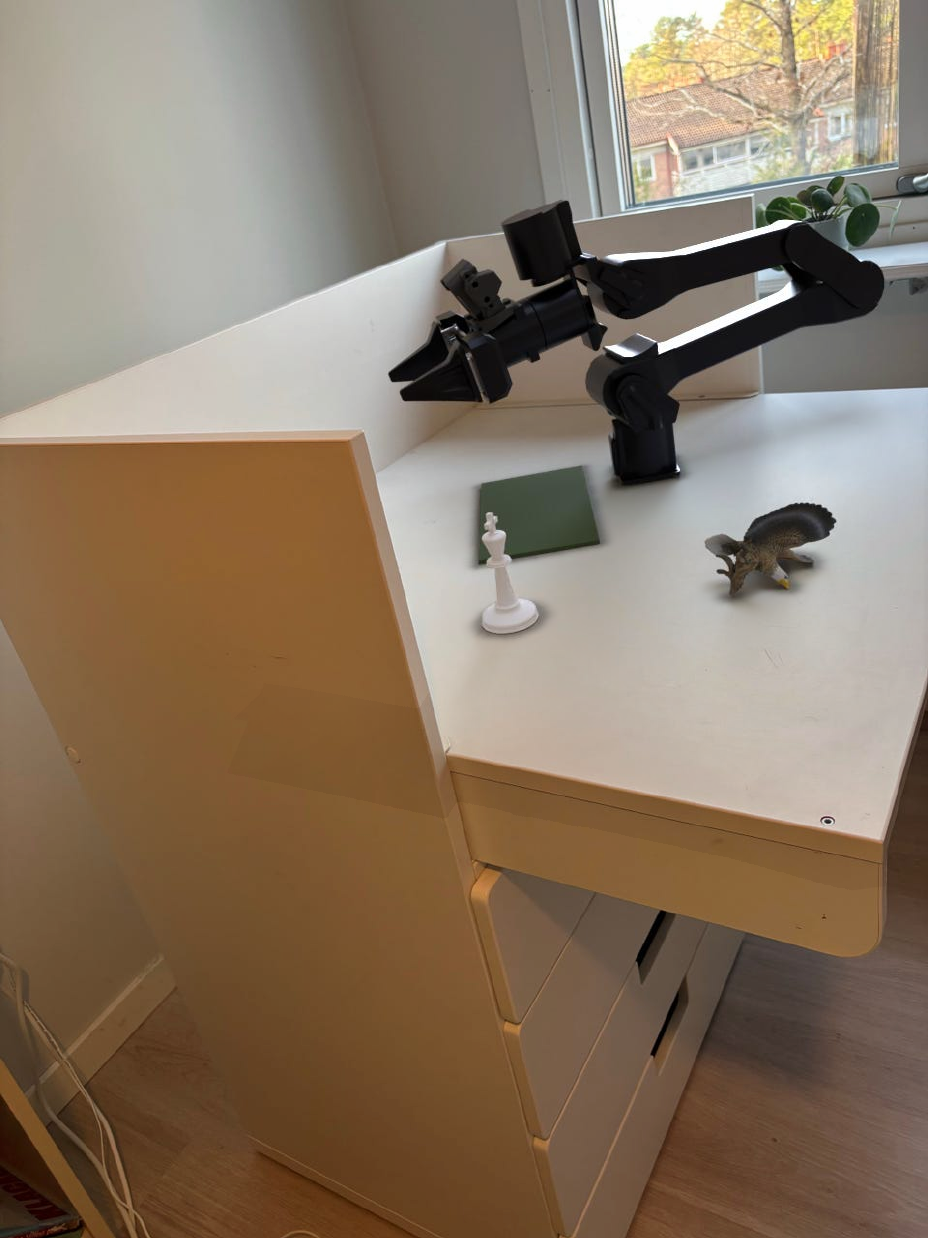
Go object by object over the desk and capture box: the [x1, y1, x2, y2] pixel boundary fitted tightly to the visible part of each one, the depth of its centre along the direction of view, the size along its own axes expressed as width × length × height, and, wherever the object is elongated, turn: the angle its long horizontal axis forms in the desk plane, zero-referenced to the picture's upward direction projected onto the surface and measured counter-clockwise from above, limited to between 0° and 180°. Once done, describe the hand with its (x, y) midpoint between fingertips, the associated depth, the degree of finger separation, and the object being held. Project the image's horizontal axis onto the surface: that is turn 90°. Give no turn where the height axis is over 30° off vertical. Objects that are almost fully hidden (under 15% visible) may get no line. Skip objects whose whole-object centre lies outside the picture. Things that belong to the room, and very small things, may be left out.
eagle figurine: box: [703, 502, 838, 597], centre depth 76 cm, size 8×7×9 cm
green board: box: [477, 465, 601, 565], centre depth 100 cm, size 12×22×1 cm, turn 178°
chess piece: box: [481, 512, 539, 635], centre depth 78 cm, size 5×5×10 cm
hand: (395, 386), depth 95 cm, fingers open, 9 cm apart
